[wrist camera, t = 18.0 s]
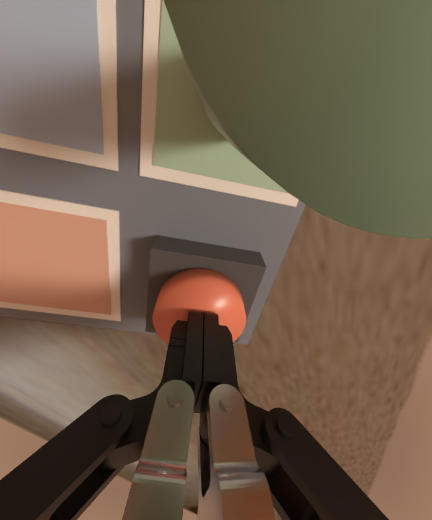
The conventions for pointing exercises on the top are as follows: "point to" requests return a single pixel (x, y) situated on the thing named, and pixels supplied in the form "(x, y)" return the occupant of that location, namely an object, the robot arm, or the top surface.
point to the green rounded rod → (323, 100)
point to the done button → (199, 301)
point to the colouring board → (119, 171)
